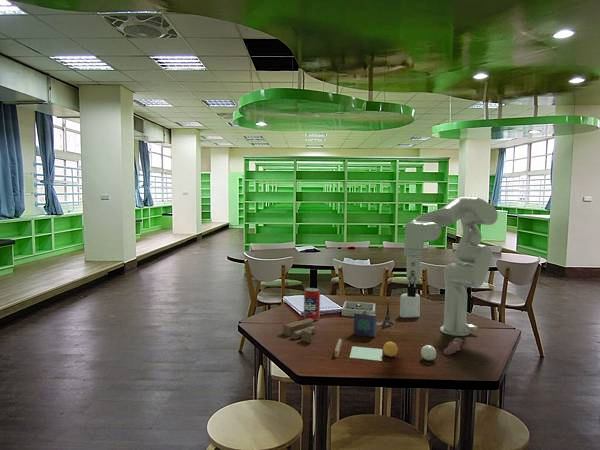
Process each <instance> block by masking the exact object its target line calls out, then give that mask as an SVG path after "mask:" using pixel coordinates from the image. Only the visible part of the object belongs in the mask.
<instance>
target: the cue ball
mask: <svg viewBox="0 0 600 450" xmlns="http://www.w3.org/2000/svg"><path fill="white" fill-rule="evenodd" d="M420 354H421V356H422V359H424V360H425V361H432V360H434V359H436V356H437V350H436V349H435V347H434V346H432V345H429V344H426V345H424V346H422V348H421V350H420Z"/></svg>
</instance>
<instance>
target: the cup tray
mask: <svg viewBox="0 0 600 450" xmlns="http://www.w3.org/2000/svg"><path fill="white" fill-rule="evenodd" d="M356 304H362V309H361V310H356ZM352 308H353V309H352ZM364 310H368V311H367V314H375V315H376V303H372V302H359V301H347V300H346V301H344V303H343V306H342V308H341V316H343V317H345V316H346V317H353V318H354V314H355V312H359V311H360V313H361V312H364Z"/></svg>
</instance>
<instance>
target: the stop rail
mask: <svg viewBox="0 0 600 450" xmlns="http://www.w3.org/2000/svg"><path fill="white" fill-rule="evenodd" d="M342 345H343V339H342V338H338V340H337V343H336V346H335V349H334V354H333V355H334V356H333V357H334V358H338V357H339V354H340V352H341V348H342Z"/></svg>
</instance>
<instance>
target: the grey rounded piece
mask: <svg viewBox="0 0 600 450" xmlns="http://www.w3.org/2000/svg"><path fill="white" fill-rule="evenodd" d="M356 310H363V309H362V304H356Z"/></svg>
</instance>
